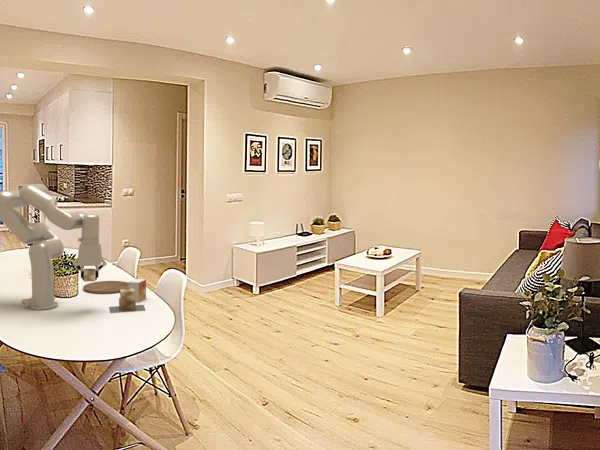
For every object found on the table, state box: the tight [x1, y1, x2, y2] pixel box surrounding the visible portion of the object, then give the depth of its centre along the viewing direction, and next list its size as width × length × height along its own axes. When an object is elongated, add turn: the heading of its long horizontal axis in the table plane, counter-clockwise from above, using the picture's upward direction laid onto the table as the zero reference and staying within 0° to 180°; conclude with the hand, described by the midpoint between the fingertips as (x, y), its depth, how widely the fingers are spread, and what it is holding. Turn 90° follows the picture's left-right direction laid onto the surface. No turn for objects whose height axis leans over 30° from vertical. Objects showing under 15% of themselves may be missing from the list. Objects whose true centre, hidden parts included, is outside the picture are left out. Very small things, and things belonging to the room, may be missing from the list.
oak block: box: [119, 289, 134, 302], centre depth 251 cm, size 6×6×4 cm
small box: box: [128, 278, 147, 303], centre depth 267 cm, size 8×6×10 cm
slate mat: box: [108, 304, 146, 314], centre depth 252 cm, size 16×11×1 cm
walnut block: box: [118, 297, 137, 311], centre depth 252 cm, size 7×7×4 cm
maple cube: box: [83, 267, 96, 282], centre depth 246 cm, size 5×5×5 cm
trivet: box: [82, 280, 129, 295], centre depth 291 cm, size 25×25×2 cm
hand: (89, 279), depth 246 cm, fingers closed on maple cube, 5 cm apart
